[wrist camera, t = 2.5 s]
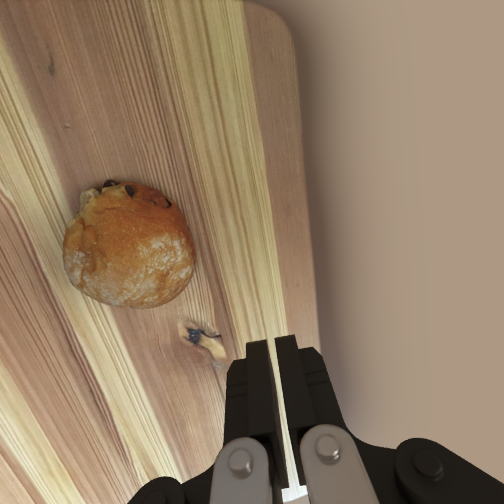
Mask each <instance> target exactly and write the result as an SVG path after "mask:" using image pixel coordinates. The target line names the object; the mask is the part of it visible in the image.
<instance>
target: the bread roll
mask: <svg viewBox="0 0 504 504" xmlns="http://www.w3.org/2000/svg"><path fill="white" fill-rule="evenodd" d="M80 203H81V206H80V208H79V210H80V211H79V212H78V213H77V214H76V216H75V219H74V220H72V221H69V222H68V223H67V224H66V226H65V228H66V229H65V236H64V241H63V262H64V269H65V271H66V273H67V275H68V277H69V280H70V282H71V283H72V285H73V286H74V287H75V288H77V289H78V290H80V291H81V292H82V293H84V294H86V295H87V296H89V297H91V298H93V299H95V300H97V301H99V302H101V303H104V304H107V305H112V306H116V307H128V306H129V307H130V308H135V309H147V308H154V307H158V306H161V305H163V304H166V303H168V302H169V301H171V300H173V299H174V298H175V297H177V296H178V295H179V294H180V293H181V292H182V291H183V290H184V289H185V287H186V286H187V285H188V283H189V282H190V280H191V278H192V275H193V272H194V268H195V263H196V260H195V257H196V251H195V247H194V243H193V240H192V235H191V234H190V232H189V228H188V225H187V223H186V220H185V218H184V216H183V214H182V212H181V210H180V209H179V208H178V207H177V205H176V203H175V202H174V201H173V200H171V199H170V198H168V197H166V196H165V195H164V194H162V193H161V192H160V191H159V190H157V189H155V188H153V187H150V186H146V185H140V184H137V183H132V182H122V183H120V182H116V181H113V180H107V181H106V182H105V183H104V185H103V187H102V189H101V192H99V191H97V190H95V189H94V188H89V189H88V190H85V191H82V194H81V196H80Z"/></svg>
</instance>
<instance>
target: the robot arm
mask: <svg viewBox="0 0 504 504" xmlns="http://www.w3.org/2000/svg"><path fill="white" fill-rule="evenodd" d="M274 339H275V345H276V352H277V359H278V365H279V372H280V378H281V385H282V391H283V398H284V405H285V411H286V418H287V424H288V430H289V435H290V440H291V445H292V450H293V455H294V459H295V464H296V469H297V474H298V479H299V484H300V486H302V485H306V486H307V491H308V496H309V501H310V504H504V484H503V483H501V482H500V481H498V480H497V479H495V478H493V477H492V476H490V475H489V474H487V473H485V472H483V471H482V470H481V469H479V468H477V467H476V466H474V465H472V464H471V463H469V462H468V461H466V460H465V459H463V458H461V457H460V456H458V455H456V454H455V453H453V452H452V451H450V450H448V449H447V448H445V447H444V446H442V445H440V444H438V443H437V442H434V441H431V440H428V439H424V438H412V439H408V440H405V441H403V442H402V443H401V444H400V445H399V446H398V447H397V449H390V448H384V447H378V446H373V445H370V444H367V443H364V442H362V441H361V440H359V439H358V438H356V437H355V436H354V435H353V434H352V433H351V432H350V431H349V430H348V428H347V427H346V425H345V423H344V420H343V417H342V414H341V411H340V408H339V405H338V402H337V399H336V396H335V393H334V390H333V387H332V384H331V382H330V378H329V375H328V372H327V370H326V366H325V363H324V361H323V357H322V356H321V355H320V354H319V353H318V352H317V351H316V350H315V349H314V348H313V347H308V348H302V349H298V346H297V342H296V338H295V334H293V335H288V336H282V337H276V338H274ZM226 386H227V388H226V403H225V423H224V442H223V447H222V449H221V450H220V452H219V453H218V455H217V457H216V460H215V462H214V464H213V465H212V466H211V467H210V468H209V469H207V470H206V471H205V472H203V473H201V474H200V475H198V476H196V477H194V478H192V479H190V480H188V481H186V482H184V483H182V484H180V483H179V482H178V481H177V480H176V479H174V478H172V477H166V476H164V477H159V478H155V479H153V480H151V481H149V482H148V483H146V484H145V485H144V486H143V487H142V488H141V489H140V490H139V491H138V492H137V493H136V494H135V495H134V496H133V498H132V499H131V500H130V501H129V502H128V503H127V504H283V500H282V491H281V489H284V488H289V482H288V474H287V467H286V459H285V451H284V444H283V436H282V429H281V421H280V413H279V406H278V398H277V391H276V384H275V378H274V373H273V368H272V363H271V359H270V354H269V349H268V344H267V340H266V339H265V340H260V341H254V342H248V343H246V358H245V359H239V360H233V362H232V364H231V366H230V368H229V370H228V372H227V382H226Z"/></svg>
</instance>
